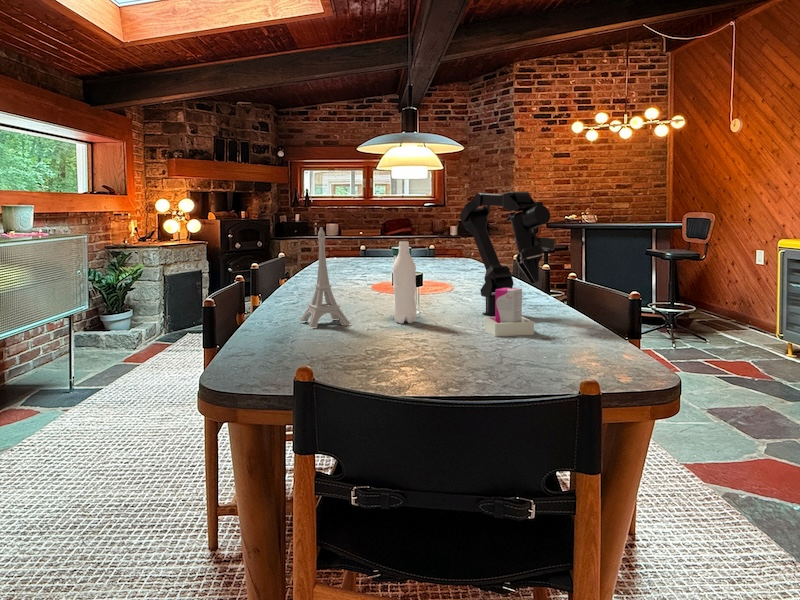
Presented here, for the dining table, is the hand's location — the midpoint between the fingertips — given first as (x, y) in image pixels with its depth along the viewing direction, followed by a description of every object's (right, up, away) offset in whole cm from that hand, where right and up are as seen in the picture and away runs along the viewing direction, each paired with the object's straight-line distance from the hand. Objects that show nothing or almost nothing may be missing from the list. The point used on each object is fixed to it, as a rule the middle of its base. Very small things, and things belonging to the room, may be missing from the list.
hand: (534, 282), depth 191 cm
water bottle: (-39, -12, +6) cm, 41 cm away
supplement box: (-10, -14, -11) cm, 20 cm away
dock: (-10, -14, -11) cm, 21 cm away
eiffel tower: (-64, -13, +6) cm, 66 cm away
